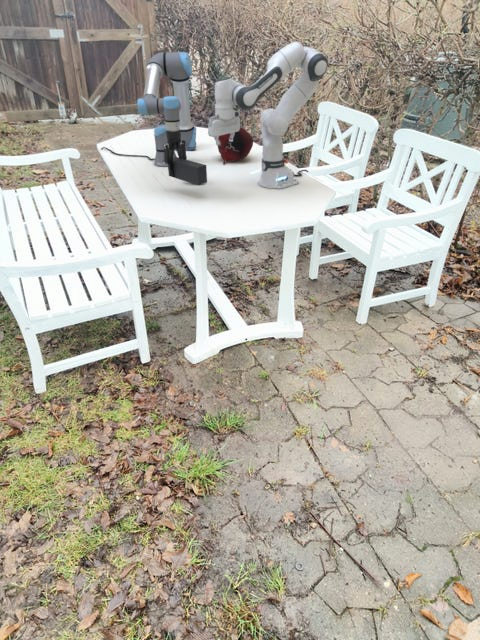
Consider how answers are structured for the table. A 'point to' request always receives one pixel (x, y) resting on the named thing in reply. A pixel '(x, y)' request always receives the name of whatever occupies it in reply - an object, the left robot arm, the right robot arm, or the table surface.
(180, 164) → the box
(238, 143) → the dark red rounded piece
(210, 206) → the table surface
